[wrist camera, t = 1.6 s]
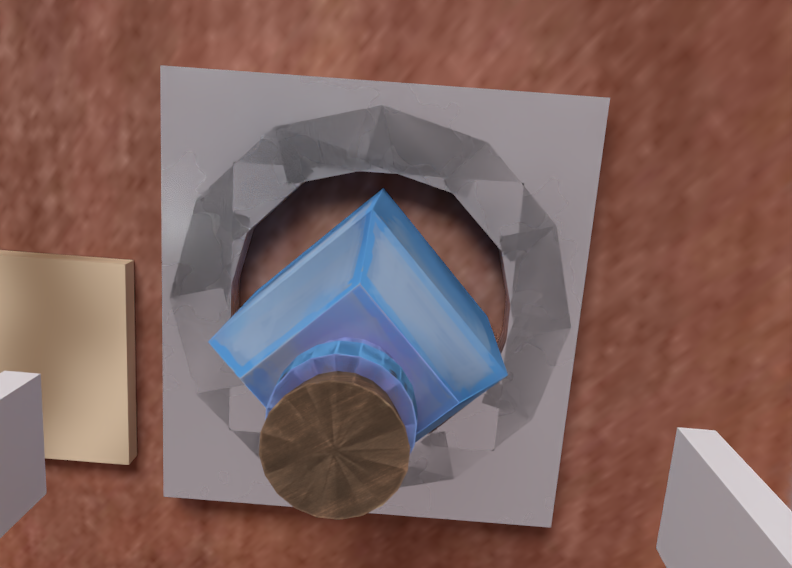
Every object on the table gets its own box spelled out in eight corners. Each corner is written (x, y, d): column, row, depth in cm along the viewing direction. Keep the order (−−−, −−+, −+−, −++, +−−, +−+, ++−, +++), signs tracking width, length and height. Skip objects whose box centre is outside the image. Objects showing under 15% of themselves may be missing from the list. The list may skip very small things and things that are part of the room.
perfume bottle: (360, 411, 27) (317, 630, 15) (256, 291, 26) (125, 428, 14) (487, 316, 26) (543, 474, 14) (383, 187, 25) (353, 245, 13)
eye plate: (174, 480, 28) (163, 496, 27) (172, 68, 24) (160, 65, 23) (545, 510, 28) (550, 527, 27) (600, 99, 24) (610, 98, 23)
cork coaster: (-60, 439, 28) (-74, 449, 27) (-78, 244, 26) (-93, 248, 25) (137, 455, 28) (129, 464, 27) (133, 260, 26) (124, 264, 25)
